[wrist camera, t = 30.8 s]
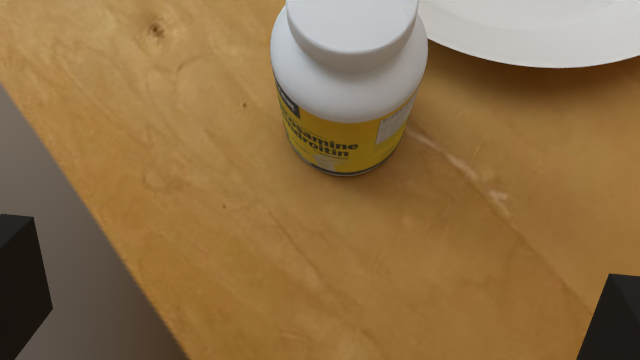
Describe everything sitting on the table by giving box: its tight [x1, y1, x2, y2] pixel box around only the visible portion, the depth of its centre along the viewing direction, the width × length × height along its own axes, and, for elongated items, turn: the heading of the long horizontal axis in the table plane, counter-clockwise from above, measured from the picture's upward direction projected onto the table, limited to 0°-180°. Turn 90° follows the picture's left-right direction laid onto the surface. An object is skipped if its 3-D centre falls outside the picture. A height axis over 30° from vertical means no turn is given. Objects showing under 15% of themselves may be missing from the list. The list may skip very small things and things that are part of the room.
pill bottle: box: [270, 0, 428, 176], centre depth 25 cm, size 6×6×12 cm
